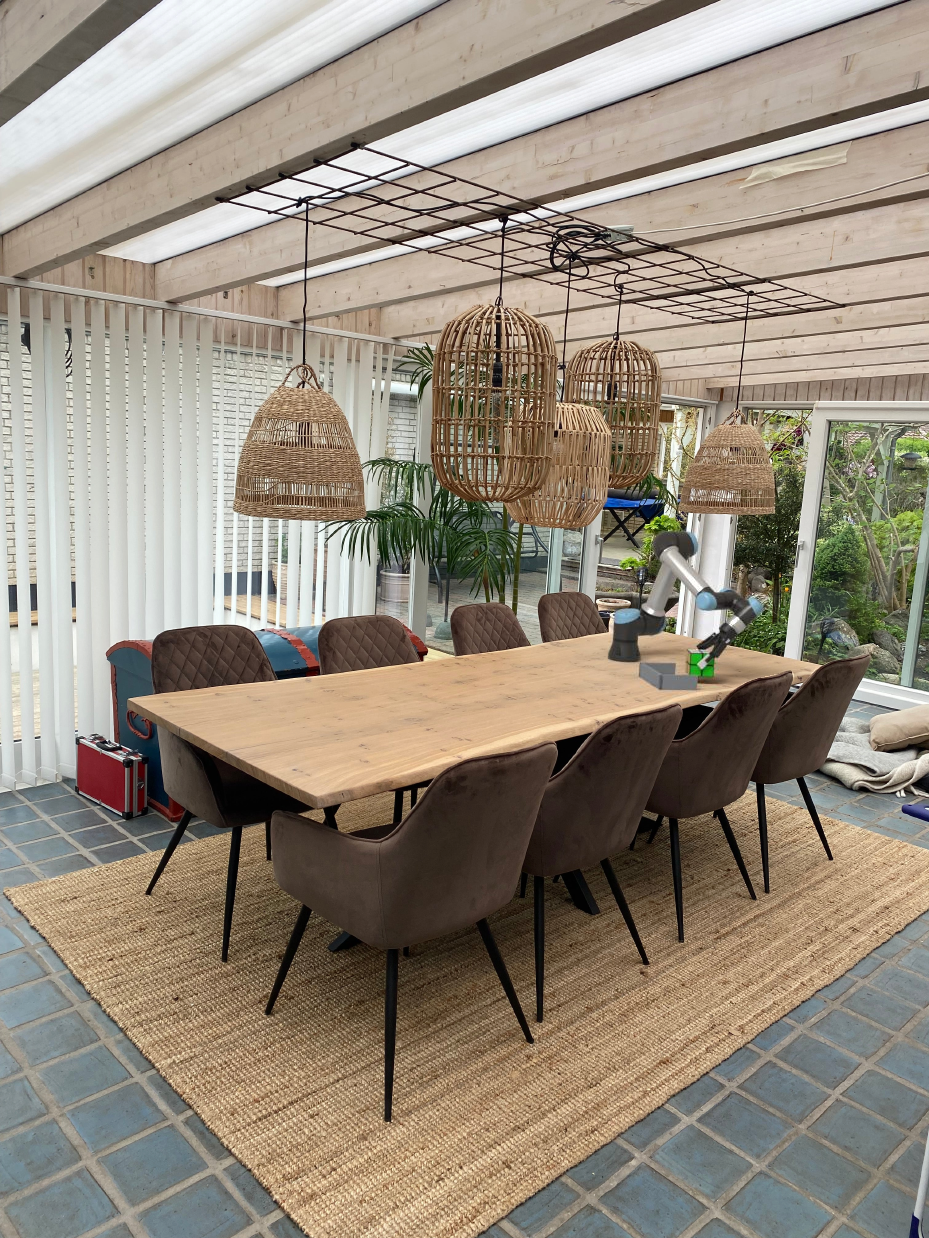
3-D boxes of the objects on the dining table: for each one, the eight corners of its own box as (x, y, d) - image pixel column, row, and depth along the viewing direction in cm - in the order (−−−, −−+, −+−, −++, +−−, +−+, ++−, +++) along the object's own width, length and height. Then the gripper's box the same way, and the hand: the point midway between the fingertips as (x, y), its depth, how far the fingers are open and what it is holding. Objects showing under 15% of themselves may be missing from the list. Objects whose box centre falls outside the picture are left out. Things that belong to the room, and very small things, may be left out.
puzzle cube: (708, 673, 379) (710, 649, 377) (713, 677, 369) (715, 653, 367) (684, 672, 379) (686, 649, 378) (689, 676, 369) (690, 652, 368)
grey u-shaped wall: (638, 676, 381) (639, 662, 380) (673, 676, 383) (674, 662, 382) (659, 689, 356) (660, 675, 355) (696, 690, 358) (697, 675, 358)
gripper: (749, 639, 362) (710, 676, 362) (725, 630, 385) (688, 664, 385) (738, 626, 361) (699, 663, 361) (714, 617, 384) (677, 652, 384)
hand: (693, 664), depth 373 cm, fingers closed on puzzle cube, 11 cm apart
